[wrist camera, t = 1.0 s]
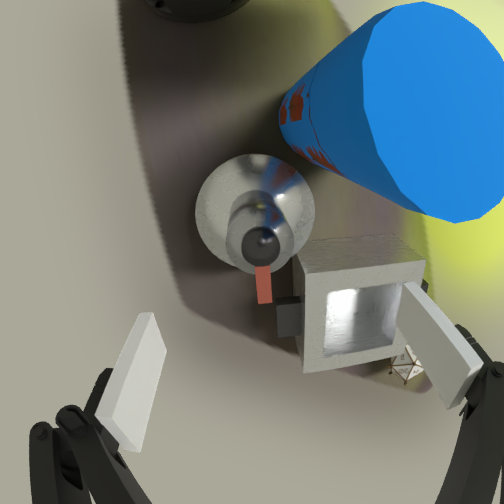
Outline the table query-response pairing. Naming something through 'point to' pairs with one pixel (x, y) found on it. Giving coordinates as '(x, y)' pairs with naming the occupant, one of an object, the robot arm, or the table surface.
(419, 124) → the thermos
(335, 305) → the base
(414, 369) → the game die
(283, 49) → the table surface
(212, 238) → the lid
